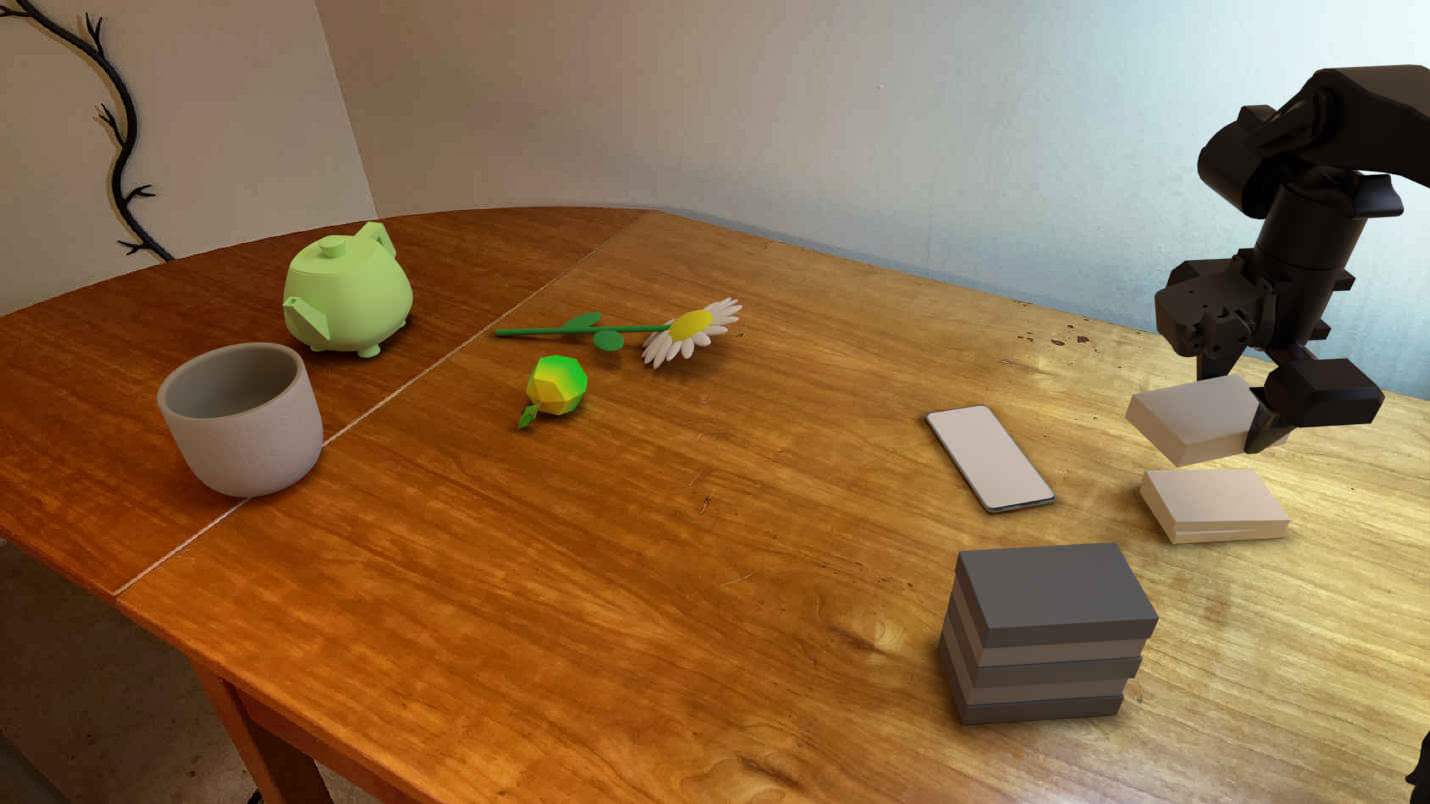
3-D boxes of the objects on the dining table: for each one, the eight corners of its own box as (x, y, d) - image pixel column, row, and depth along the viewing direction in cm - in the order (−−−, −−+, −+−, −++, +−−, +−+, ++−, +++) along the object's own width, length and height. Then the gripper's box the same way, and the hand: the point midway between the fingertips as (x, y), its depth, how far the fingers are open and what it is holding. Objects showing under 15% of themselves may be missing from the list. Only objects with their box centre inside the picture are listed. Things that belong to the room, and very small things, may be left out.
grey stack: (1118, 715, 67) (1161, 617, 60) (962, 725, 66) (988, 628, 60) (1081, 638, 72) (1117, 541, 66) (937, 647, 72) (958, 550, 65)
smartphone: (989, 511, 83) (924, 413, 95) (988, 515, 83) (923, 417, 95) (1059, 498, 84) (985, 403, 96) (1057, 503, 85) (985, 407, 96)
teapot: (365, 390, 100) (335, 290, 92) (258, 375, 102) (220, 277, 95) (447, 298, 115) (427, 207, 108) (351, 288, 118) (325, 197, 110)
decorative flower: (482, 381, 105) (736, 378, 98) (471, 344, 102) (731, 339, 95) (522, 328, 115) (754, 322, 108) (512, 293, 113) (750, 285, 106)
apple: (564, 331, 95) (523, 378, 89) (609, 372, 97) (571, 421, 90) (531, 365, 100) (489, 412, 93) (574, 404, 101) (536, 453, 94)
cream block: (1285, 444, 71) (1297, 420, 70) (1176, 468, 69) (1186, 444, 68) (1227, 396, 76) (1236, 372, 75) (1123, 417, 74) (1132, 393, 73)
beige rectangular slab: (1285, 538, 81) (1295, 519, 80) (1170, 545, 80) (1178, 526, 79) (1241, 483, 87) (1250, 464, 85) (1134, 489, 86) (1141, 470, 85)
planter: (231, 532, 83) (188, 440, 76) (178, 470, 90) (134, 380, 83) (357, 467, 90) (327, 377, 83) (298, 413, 97) (267, 327, 90)
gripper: (1130, 197, 70) (1082, 361, 80) (1265, 329, 56) (1186, 511, 65) (1268, 191, 71) (1204, 355, 80) (1438, 320, 56) (1334, 501, 66)
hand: (1225, 423), depth 73 cm, fingers closed on cream block, 7 cm apart
